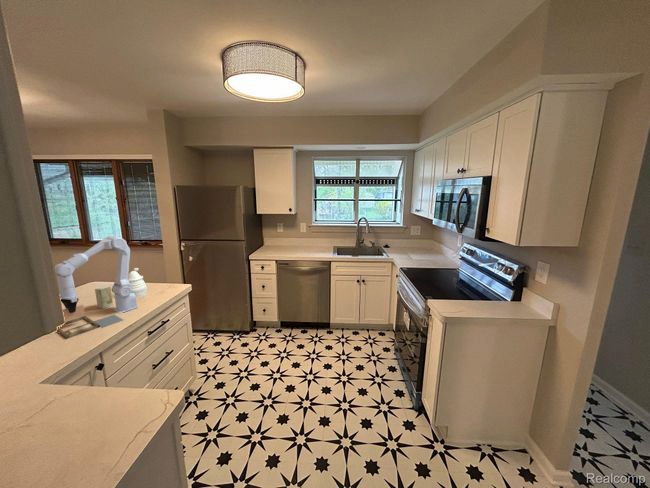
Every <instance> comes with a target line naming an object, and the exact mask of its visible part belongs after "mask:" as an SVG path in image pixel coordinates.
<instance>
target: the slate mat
mask: <svg viewBox="0 0 650 488" xmlns="http://www.w3.org/2000/svg"><path fill="white" fill-rule="evenodd" d="M93 321H94V322H96V323H97V324H99V325H100V327H99V328H101V329H104V328H106V327H109V326H111V325H114V324H117V323H121V322H122V321H123V322H124V319H123V318H121V317H120V316H117V315H116V314H112V315H108V316H104V317H102V318H99V319H96V320H93Z"/></svg>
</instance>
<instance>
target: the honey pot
mask: <svg viewBox="0 0 650 488" xmlns="http://www.w3.org/2000/svg"><path fill="white" fill-rule="evenodd" d="M139 269H140V268H139V267H135V268H133V270H132V271H130V272H128V281H129V283H130V287H131V293H134V294H135V296H136V299H137V298H141V297H144V296H146V295H147V294H148V287H147V284H146V282H145V280H144V275H140V274H139V273H138V272H139Z"/></svg>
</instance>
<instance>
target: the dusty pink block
mask: <svg viewBox="0 0 650 488" xmlns="http://www.w3.org/2000/svg"><path fill="white" fill-rule="evenodd" d="M62 310H63V312H64V317H65V319H64V320H67V319H70V318H73V317H76V316H79V315H80V316H81V315H83V314H85V313H86V312H85V307H84V304H77V305H76V311H75V312H73V313H69V311H68V308H67V309H66V308H63V309H62Z"/></svg>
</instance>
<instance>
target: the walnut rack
mask: <svg viewBox="0 0 650 488" xmlns="http://www.w3.org/2000/svg"><path fill="white" fill-rule="evenodd" d="M83 320H85V322H87V323H84V324H82V325H81V324H80V325H79V326H76V327H73V328H69V329H67V330H66V329H65V330H64V331H63V330H62V329H61V328H60V327H58V330H57V331H56V332H57V333H59V332H60V333H59V334H60V335H61V336H62V337H63V338H65V339H66V340H68V339H70V338H73V337H77V336H79V335H82V334H85V333H89V332H91V331H93V330H96V329H99V328H101V327H100V325H99V324H97V323H96V322H94V321H95V320H92V319H91V318H90V317H88V316H86V315H82V316H81V317H78V318H74V319H70V320H68V321H65V322H66V323H65V324H64V325H63V326H67V325H69V324H72V323H75V322H78V321H83ZM88 324H90V325H92V326H93V327H91V328H88V329H85V330H82V331H79V332H76V333H73V334H70V333H69V331H70V330H73V329H76V328H79V327H82V326H85V325H88Z"/></svg>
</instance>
